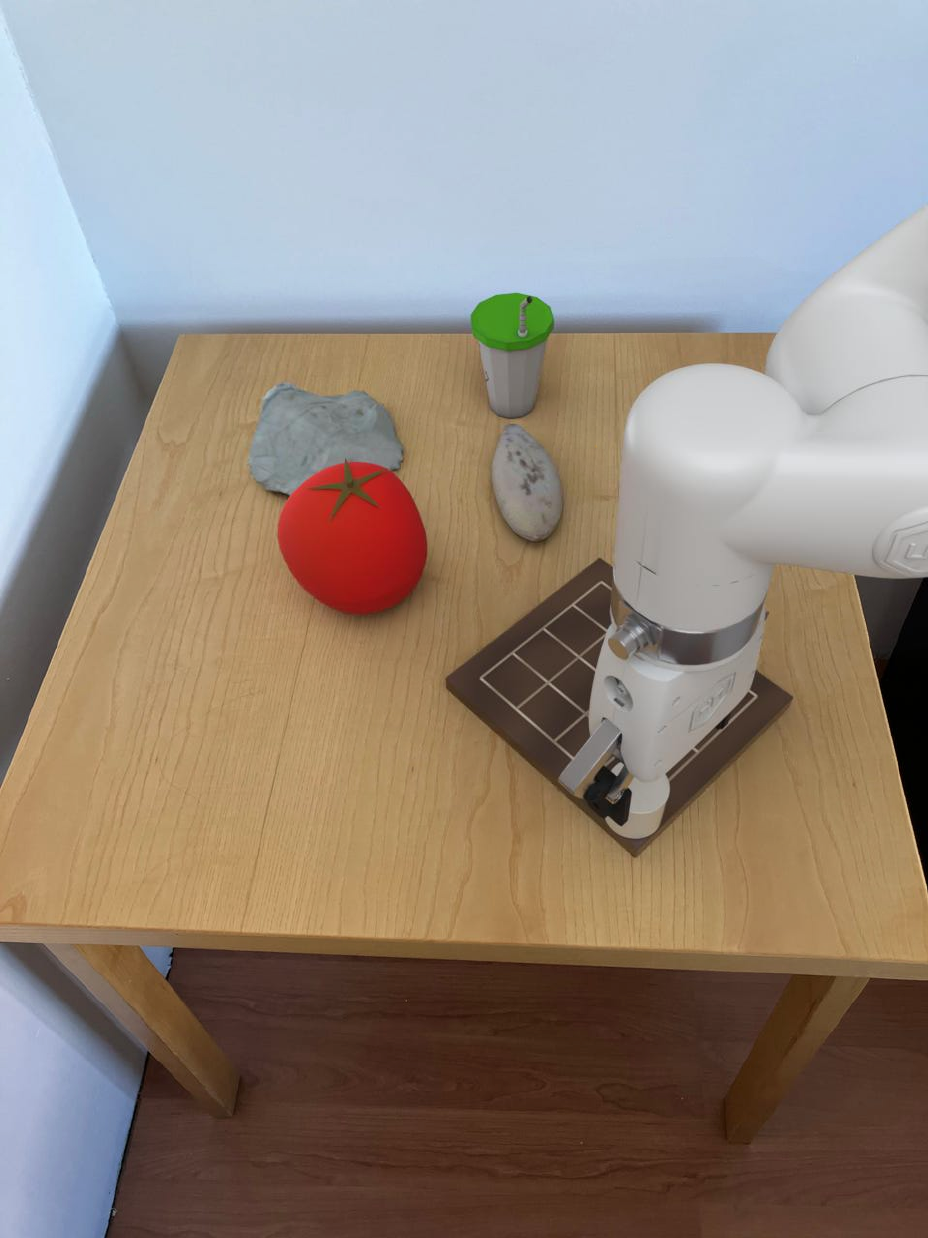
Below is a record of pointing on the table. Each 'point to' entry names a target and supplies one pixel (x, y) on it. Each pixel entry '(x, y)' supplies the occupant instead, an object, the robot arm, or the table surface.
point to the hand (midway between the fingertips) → (656, 760)
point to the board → (588, 696)
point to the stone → (318, 436)
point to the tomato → (354, 538)
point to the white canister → (643, 807)
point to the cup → (512, 349)
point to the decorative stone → (526, 484)
